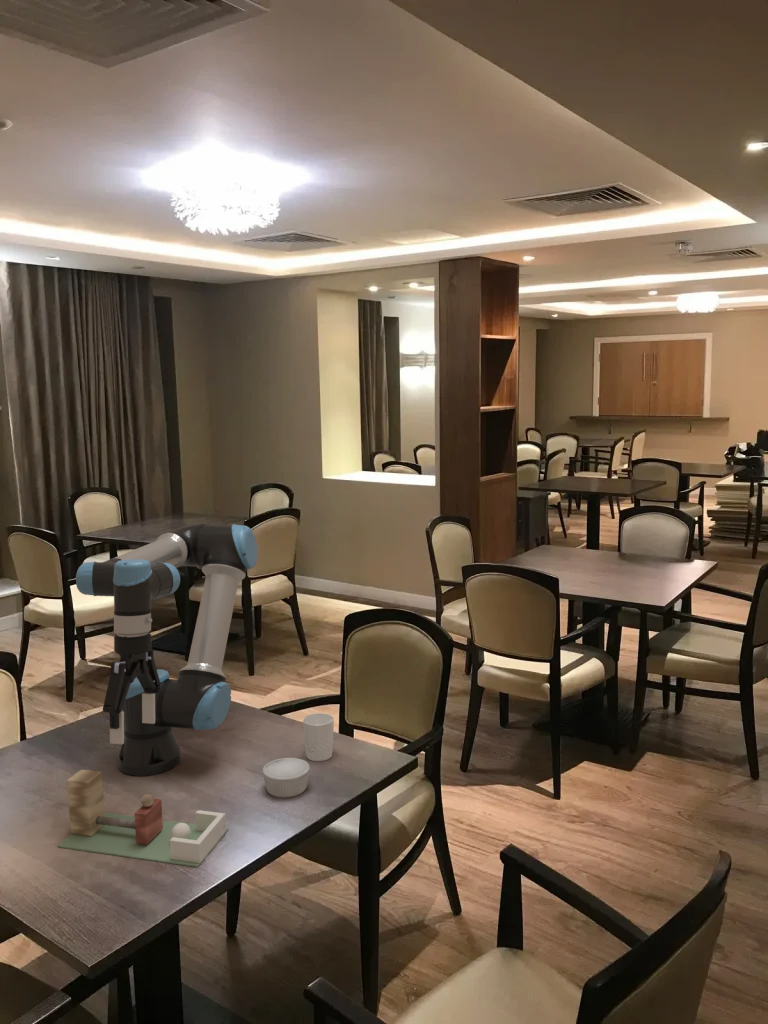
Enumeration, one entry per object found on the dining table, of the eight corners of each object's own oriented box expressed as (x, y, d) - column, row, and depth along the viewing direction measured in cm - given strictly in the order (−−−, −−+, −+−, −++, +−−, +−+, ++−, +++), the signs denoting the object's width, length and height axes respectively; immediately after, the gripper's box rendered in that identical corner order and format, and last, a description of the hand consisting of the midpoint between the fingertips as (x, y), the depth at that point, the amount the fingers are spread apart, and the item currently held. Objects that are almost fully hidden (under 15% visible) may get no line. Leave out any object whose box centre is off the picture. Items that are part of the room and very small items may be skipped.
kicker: (68, 835, 168) (64, 781, 167) (87, 819, 175) (83, 768, 173) (147, 846, 164) (144, 791, 162) (163, 829, 170) (160, 776, 168)
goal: (170, 858, 160) (169, 840, 159) (198, 827, 171) (197, 810, 171) (200, 863, 158) (199, 844, 158) (226, 831, 170) (225, 813, 169)
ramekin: (285, 773, 196) (284, 753, 195) (320, 785, 190) (319, 764, 189) (253, 791, 187) (252, 770, 186) (288, 805, 181) (287, 783, 180)
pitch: (57, 847, 165) (57, 845, 165) (97, 812, 178) (97, 811, 178) (197, 867, 157) (197, 865, 157) (228, 829, 171) (228, 828, 171)
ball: (167, 846, 164) (166, 828, 164) (177, 835, 168) (176, 818, 167) (185, 848, 163) (184, 830, 163) (194, 838, 167) (193, 820, 166)
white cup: (333, 762, 201) (332, 725, 200) (302, 762, 201) (301, 725, 200) (335, 748, 209) (334, 712, 208) (305, 749, 209) (304, 712, 208)
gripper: (119, 646, 155) (119, 754, 156) (175, 623, 179) (176, 716, 180) (83, 644, 156) (84, 751, 157) (144, 621, 181) (145, 714, 182)
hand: (133, 732), depth 169 cm, fingers open, 13 cm apart
